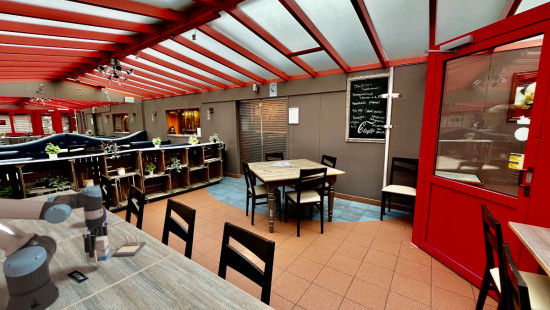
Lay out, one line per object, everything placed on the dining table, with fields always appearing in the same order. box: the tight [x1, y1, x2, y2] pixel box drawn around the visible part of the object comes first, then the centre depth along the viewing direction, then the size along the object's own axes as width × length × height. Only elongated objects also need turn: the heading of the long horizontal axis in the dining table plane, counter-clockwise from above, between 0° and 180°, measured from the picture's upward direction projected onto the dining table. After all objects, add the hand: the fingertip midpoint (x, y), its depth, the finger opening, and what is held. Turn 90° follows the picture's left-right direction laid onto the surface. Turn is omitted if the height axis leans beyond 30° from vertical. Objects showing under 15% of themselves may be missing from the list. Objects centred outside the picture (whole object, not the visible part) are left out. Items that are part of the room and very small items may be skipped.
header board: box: [112, 234, 147, 258], centre depth 129 cm, size 12×12×8 cm
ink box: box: [85, 235, 111, 264], centre depth 113 cm, size 9×5×12 cm, turn 105°
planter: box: [103, 206, 108, 223], centre depth 163 cm, size 11×11×11 cm
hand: (98, 258), depth 114 cm, fingers closed on ink box, 6 cm apart
